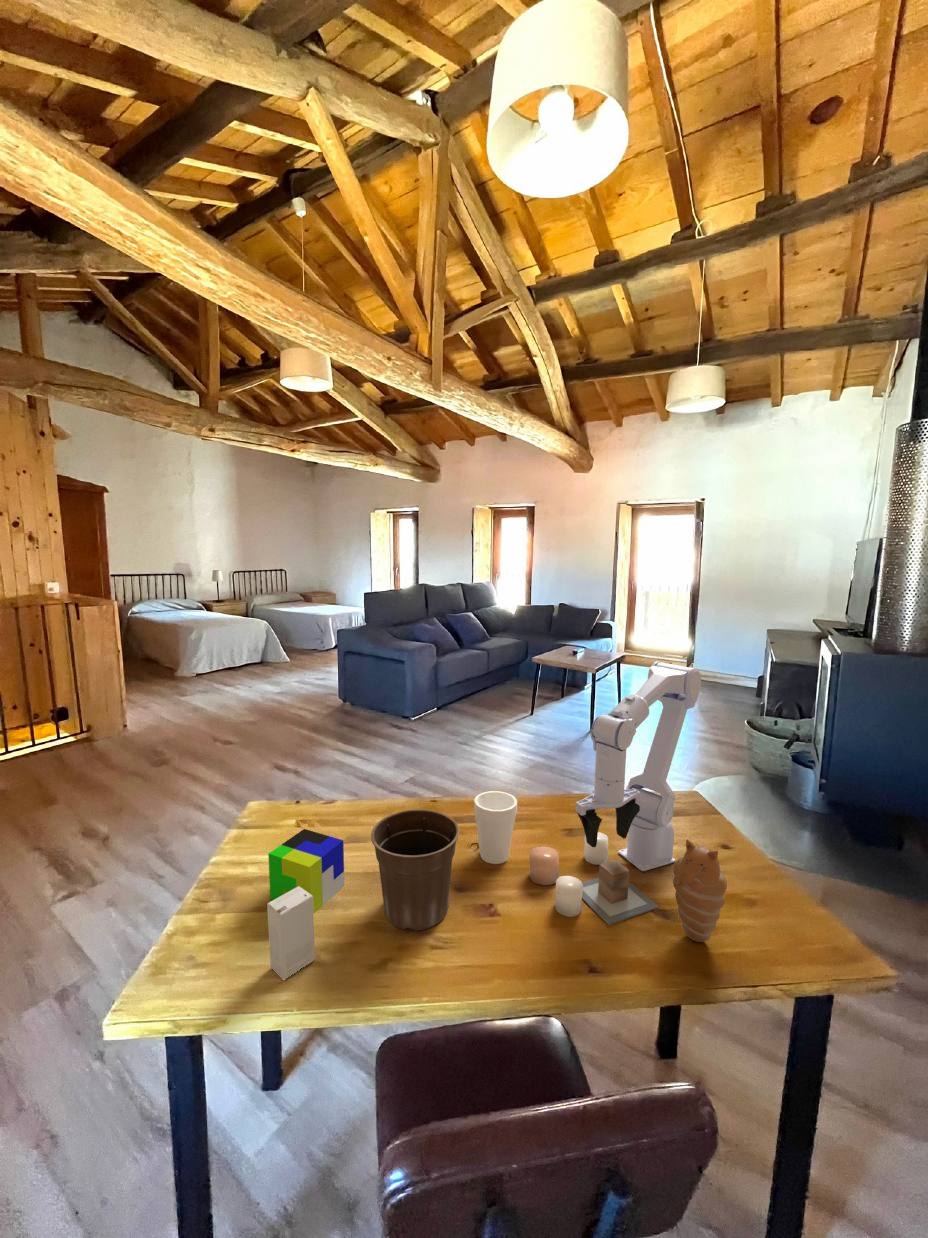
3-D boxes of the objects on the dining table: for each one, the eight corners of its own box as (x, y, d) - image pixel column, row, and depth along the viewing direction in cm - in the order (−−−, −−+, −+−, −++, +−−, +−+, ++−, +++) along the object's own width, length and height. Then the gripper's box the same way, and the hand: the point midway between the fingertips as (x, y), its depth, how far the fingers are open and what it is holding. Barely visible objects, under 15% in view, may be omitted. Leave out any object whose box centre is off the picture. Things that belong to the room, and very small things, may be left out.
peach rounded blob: (537, 865, 117) (537, 843, 117) (563, 873, 114) (563, 851, 113) (524, 879, 112) (524, 856, 112) (551, 888, 109) (551, 865, 108)
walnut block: (614, 887, 109) (615, 859, 109) (627, 898, 106) (629, 870, 105) (598, 892, 108) (599, 864, 107) (611, 904, 104) (612, 875, 103)
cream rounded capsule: (568, 896, 107) (569, 872, 106) (586, 910, 103) (588, 886, 102) (549, 905, 104) (550, 881, 103) (567, 920, 100) (569, 896, 99)
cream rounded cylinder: (607, 854, 121) (608, 833, 121) (607, 866, 116) (607, 844, 116) (584, 851, 123) (585, 830, 122) (583, 862, 118) (584, 840, 117)
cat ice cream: (662, 938, 96) (668, 843, 93) (680, 916, 101) (686, 827, 99) (713, 965, 90) (722, 865, 87) (730, 941, 95) (738, 846, 93)
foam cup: (513, 871, 115) (514, 813, 113) (470, 865, 117) (471, 808, 115) (517, 846, 124) (519, 793, 122) (478, 841, 126) (478, 789, 124)
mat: (617, 873, 115) (617, 871, 114) (658, 908, 104) (658, 906, 104) (570, 887, 110) (570, 885, 110) (608, 925, 99) (608, 923, 99)
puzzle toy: (344, 886, 109) (343, 840, 108) (311, 916, 100) (309, 867, 99) (305, 873, 114) (304, 828, 112) (270, 901, 105) (268, 853, 103)
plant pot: (412, 955, 91) (411, 867, 89) (355, 911, 102) (353, 831, 100) (475, 908, 103) (477, 829, 101) (418, 873, 114) (418, 801, 112)
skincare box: (301, 948, 93) (299, 883, 91) (316, 961, 90) (314, 894, 88) (268, 969, 88) (265, 901, 86) (283, 984, 85) (280, 914, 83)
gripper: (624, 762, 113) (621, 823, 115) (567, 774, 107) (564, 838, 109) (649, 775, 107) (645, 839, 108) (589, 789, 100) (586, 856, 102)
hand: (606, 840), depth 108 cm, fingers open, 7 cm apart
